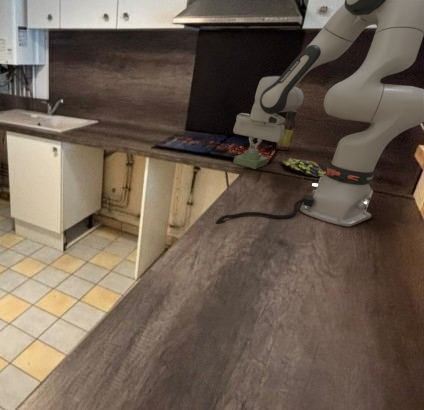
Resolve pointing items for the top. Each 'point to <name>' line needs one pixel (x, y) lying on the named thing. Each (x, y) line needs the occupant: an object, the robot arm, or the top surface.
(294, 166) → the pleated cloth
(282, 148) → the sauce bottle
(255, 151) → the pump
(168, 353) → the top surface
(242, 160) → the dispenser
